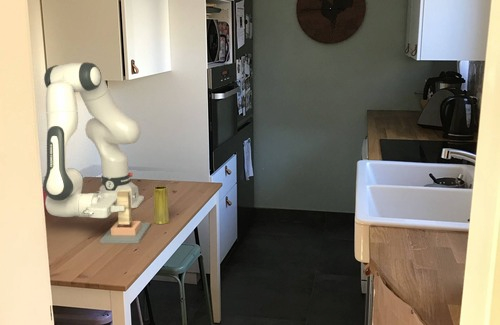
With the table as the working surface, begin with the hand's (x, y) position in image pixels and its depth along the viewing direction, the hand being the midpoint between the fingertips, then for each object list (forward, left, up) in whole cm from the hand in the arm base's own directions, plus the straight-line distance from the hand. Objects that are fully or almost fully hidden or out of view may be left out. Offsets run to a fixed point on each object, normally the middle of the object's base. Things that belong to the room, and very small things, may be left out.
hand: (126, 205), depth 207 cm
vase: (-16, +7, -11) cm, 20 cm away
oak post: (0, -1, -6) cm, 7 cm away
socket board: (0, -1, -11) cm, 11 cm away
